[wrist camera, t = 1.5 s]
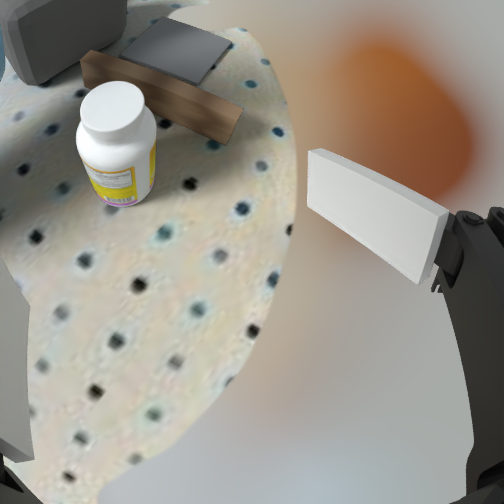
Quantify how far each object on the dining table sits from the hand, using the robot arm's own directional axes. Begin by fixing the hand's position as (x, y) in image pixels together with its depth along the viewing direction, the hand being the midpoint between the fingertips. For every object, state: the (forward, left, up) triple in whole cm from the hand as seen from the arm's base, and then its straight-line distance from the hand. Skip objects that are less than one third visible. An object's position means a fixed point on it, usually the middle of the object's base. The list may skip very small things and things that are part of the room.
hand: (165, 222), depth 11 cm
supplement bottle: (-8, +8, -19) cm, 22 cm away
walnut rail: (-10, +18, -19) cm, 28 cm away
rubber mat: (-13, +29, -19) cm, 37 cm away
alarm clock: (-28, +22, -19) cm, 40 cm away
